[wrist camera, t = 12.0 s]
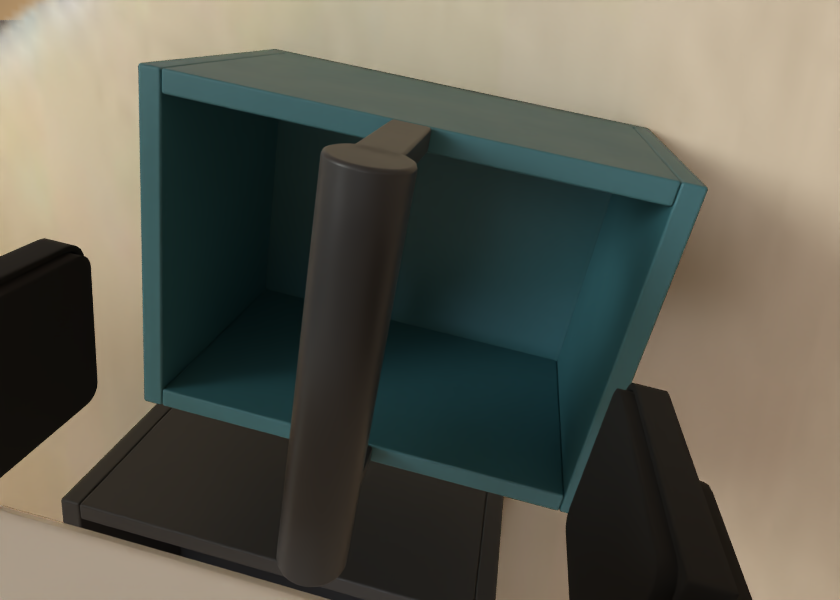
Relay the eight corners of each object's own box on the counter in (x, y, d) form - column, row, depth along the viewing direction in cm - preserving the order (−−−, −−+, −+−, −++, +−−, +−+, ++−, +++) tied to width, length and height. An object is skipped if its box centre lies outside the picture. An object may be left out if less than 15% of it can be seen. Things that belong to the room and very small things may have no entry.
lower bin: (175, 563, 29) (80, 704, 23) (177, 382, 24) (59, 499, 18) (451, 643, 28) (427, 813, 22) (505, 469, 23) (494, 622, 17)
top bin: (256, 292, 22) (30, 509, 12) (273, 48, 18) (-26, 78, 9) (567, 369, 21) (591, 671, 11) (648, 128, 18) (786, 263, 8)
